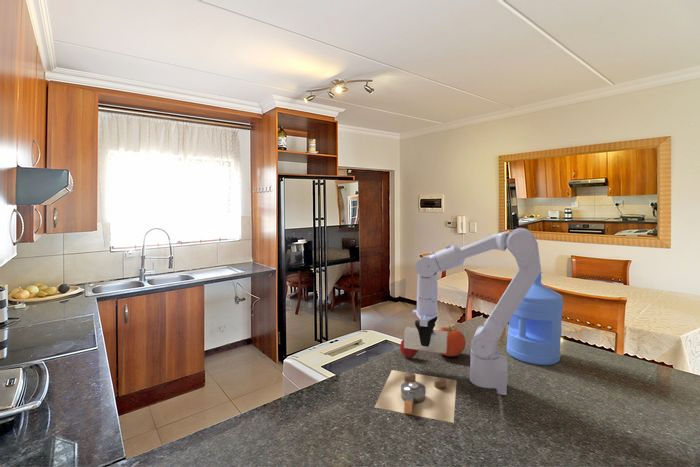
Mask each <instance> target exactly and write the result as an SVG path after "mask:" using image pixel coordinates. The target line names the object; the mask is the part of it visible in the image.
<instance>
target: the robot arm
mask: <svg viewBox="0 0 700 467" xmlns="http://www.w3.org/2000/svg"><path fill="white" fill-rule="evenodd" d="M538 243H539V242H538V241H537V239H536V237H535V236H534V234H533V232H532V231H531V230H529V229H528V228H524V227H517V228H515V229H512V231H511V230H506V231H503V232H498V233H493V234H491V235H490V236H486V237H484V238H482V239H479V240H477V241H475V242H472V243H469V244H467V245H465V246H462V247H461V246H458V245H454V244H453V245H451V244H447V245H446V246H444V248H443V249H441V250H437V251H435V252H434V251H432V252H429V254H428V255H425V256H422V257H421V258H418V260H417V261H416V262H415V264H414V265H415V268H414V269H415V271H416V274H417V282H416V285H417V286H416V309H412V314H413V315H416V317H417V318H418V319H416V320H415V322H414V326H415V328H417V330H418V332H419V337H420V342H421V346H427V347H429V344H430V339H431V334H432V331H433V330H435V329H434V328H435V327H436V321H437V320H438V319H439V318H438V273H442V272H445V271H448V270H451V269H454V268H456V267H458V266H462V265H463V264H464V262H465V260H466V259H468V258H470V257H471V258H472V257H473V256H476V255H479V254H482V253H486V252H489V251H492V250H497V251H501V252H506V250H508V251H509V252H510V254H511V255H512V256H513V257H514V258H515V261H516V263H517V266H518V270H517V272H515V275H514V276H513V278H512V279H511V281H510V283H509V284H508V286H507V287H506V289H505V291H504V293H502V295H501V297H500V298H499V300H498V302H497V303H496V305H495V306H494V308H493V309H492V311H491V312H490V315H489V316H488V318H486V320H485V321H484V322H483V323H482V324H481V325H479V326H478V327H476V329H475V332H474V335H473V337H472V338H471V340H470V344H469V345H470V354H469V355H470V362H469V363H470V366H469V381H470V382H471V383H472V384H473V385H475V386H476V387H479V388H484V389H496V394H497V395H501V396H507V395H508V393H507V392H508V391H507V390H508V389H507V388H508V381H509V380H508V358H507V356H506V355H503V354H500V351H498V349H497V345H498V342H499V340H500V339H501V336H502V334H503V332H504V330H505V328H506V327H507V325H509V320H510V319H511V317H512V316H513V314H514V313H515V311H516V310H517V308H518V307H519V305H520V303H521V302H522V300H523V299H524V297H525V296H526V294H527V293H528V291H529V289H530V288H531V286H532V285H533V283H534V282H535V280H536V279H537V277H538V275H539V274H540V272H542V271H541V270H542V268H541V260H540V251H539V244H538Z"/></svg>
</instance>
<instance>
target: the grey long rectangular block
mask: <svg viewBox="0 0 700 467" xmlns="http://www.w3.org/2000/svg"><path fill="white" fill-rule="evenodd" d="M438 330H439V329H438ZM438 330H437V329H436V330H435V329H433V331H432V334H431V339H430V344H429V347H427V346H421V342H420V337H419V332H418V330H417V327H410V326H406V327H405V330H404V331H403V339H404V348H408V349H416V350H418V351H423V352H432V353H438V354H441V353H445V354H446V352H447V334H448V332H446V331H438Z"/></svg>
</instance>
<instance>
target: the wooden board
mask: <svg viewBox="0 0 700 467" xmlns="http://www.w3.org/2000/svg"><path fill="white" fill-rule="evenodd" d="M409 381H413V382H418V383H421V384H423V385H424V386H425V388H426V393H425V400H424V401H423V402H421V403H415V404H414V407H413V412H412V416H416V417H422V418H426V419H432V420H437V421H441V422H446V423H452V424H454V422H455V409H456V406H455V405H456V396H457V395H456V393H457V379H451V378H446V377H440V376H439V377H438V376H433V375H432V376H431V375H426V374H419V373H413V372H408V371H400V370H396V369H395V370H393V369H391V371H390V374H389V375H388V377H387V380H386V382H385V383H384V386H383V388H382V390H381V392H380V394H379V396H378V399H377V400H376V403H375V405H374V408H376V409H379V410H386V411H389V412H395V413H401V414H406V413H404V405H405V401H404V400H403V399H402V398H401V385H402V384H403V383H405V382H409ZM406 415H407V414H406ZM409 415H411V414H409Z"/></svg>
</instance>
